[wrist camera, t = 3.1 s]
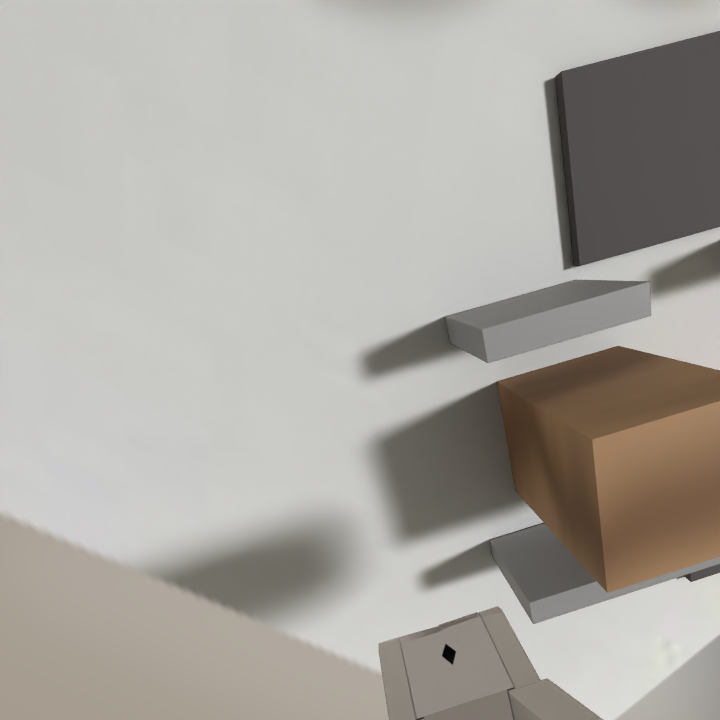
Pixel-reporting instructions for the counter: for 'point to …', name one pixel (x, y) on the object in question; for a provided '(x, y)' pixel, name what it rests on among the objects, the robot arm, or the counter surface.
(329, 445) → the counter surface
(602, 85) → the mats
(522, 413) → the walnut block
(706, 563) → the rail lane
